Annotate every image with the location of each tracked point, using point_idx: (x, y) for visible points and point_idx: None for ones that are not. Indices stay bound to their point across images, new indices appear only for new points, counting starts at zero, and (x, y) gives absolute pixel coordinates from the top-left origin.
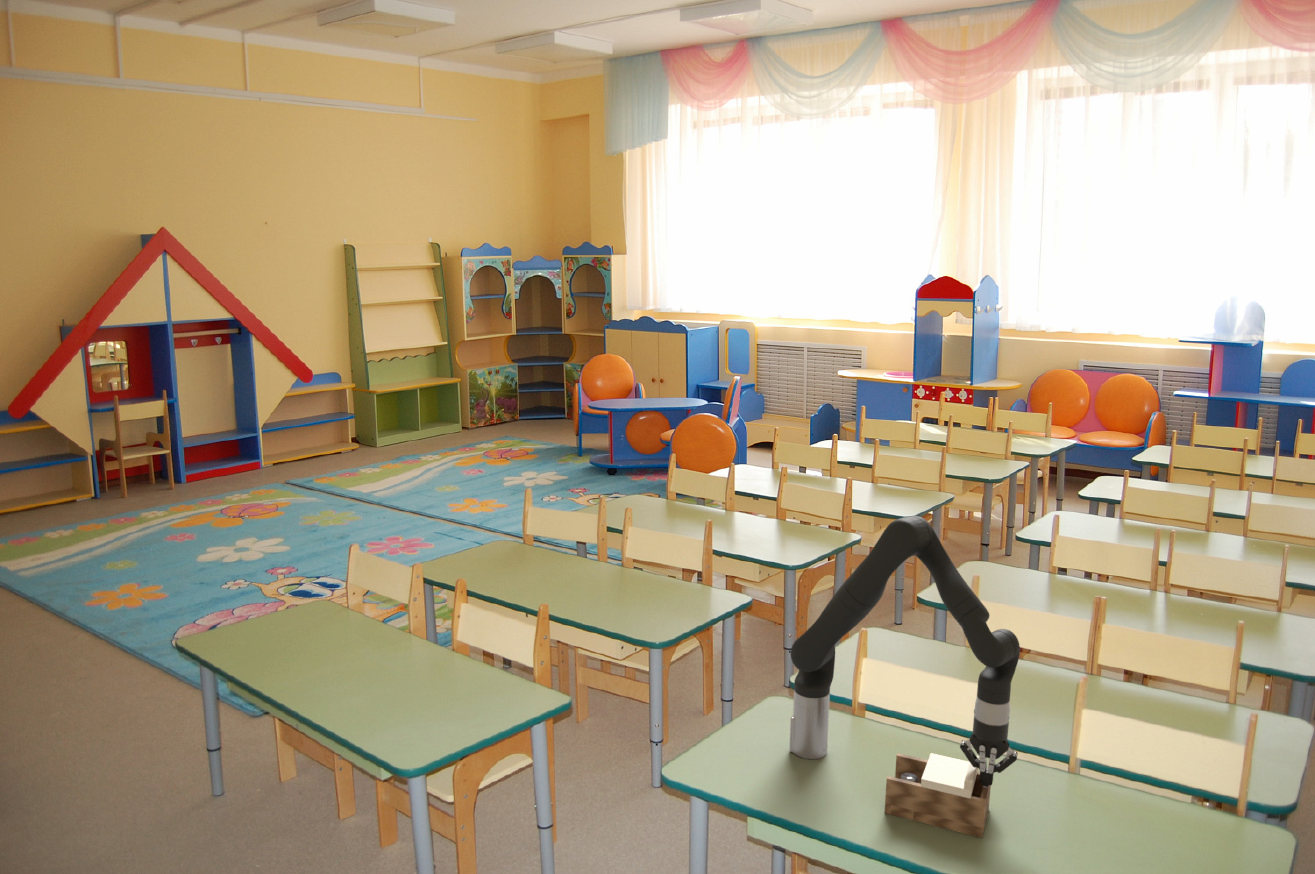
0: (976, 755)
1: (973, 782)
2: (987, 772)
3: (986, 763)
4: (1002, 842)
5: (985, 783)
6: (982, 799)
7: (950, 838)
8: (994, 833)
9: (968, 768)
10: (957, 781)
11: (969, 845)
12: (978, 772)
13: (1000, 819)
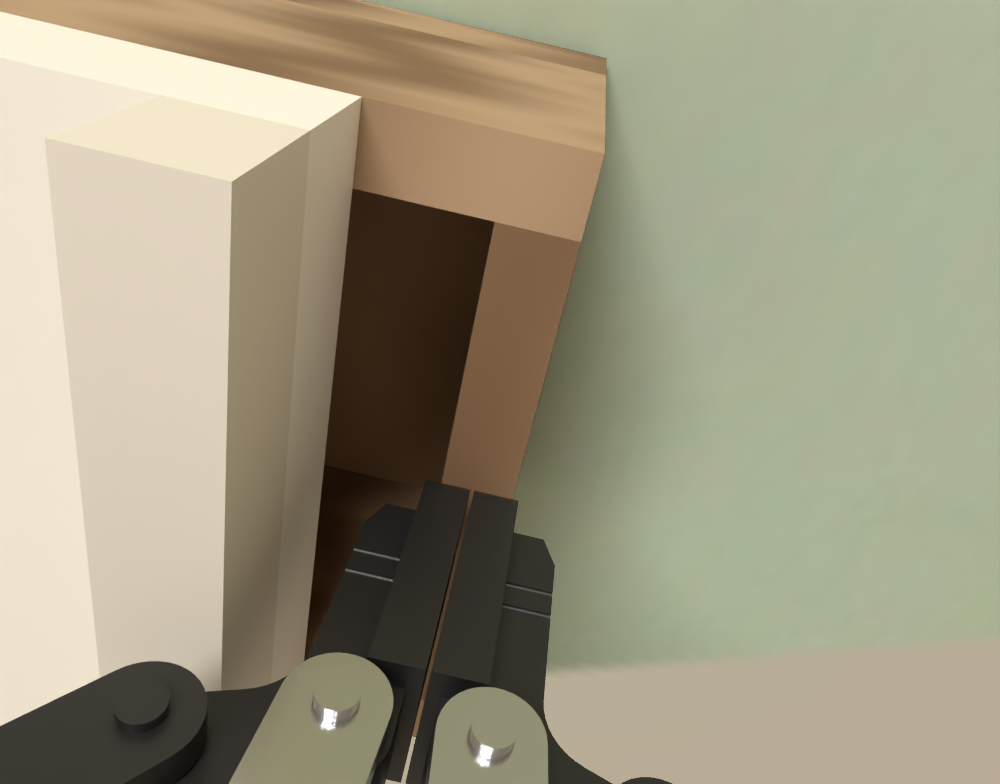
0: (168, 163)
1: (276, 652)
2: (421, 773)
3: (373, 770)
4: (640, 496)
5: (445, 596)
6: (420, 711)
7: None
8: (599, 408)
9: (107, 670)
10: (78, 669)
11: None
12: (376, 135)
13: (691, 206)
